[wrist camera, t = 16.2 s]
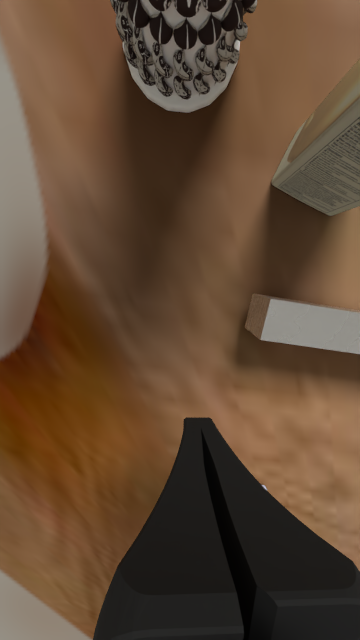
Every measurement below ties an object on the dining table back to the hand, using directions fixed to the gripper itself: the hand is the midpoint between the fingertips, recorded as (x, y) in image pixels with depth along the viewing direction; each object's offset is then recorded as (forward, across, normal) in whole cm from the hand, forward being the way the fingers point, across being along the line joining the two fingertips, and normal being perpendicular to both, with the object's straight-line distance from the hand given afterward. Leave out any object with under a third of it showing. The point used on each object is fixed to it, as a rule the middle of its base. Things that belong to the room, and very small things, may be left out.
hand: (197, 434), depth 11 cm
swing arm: (+9, -15, -4) cm, 18 cm away
